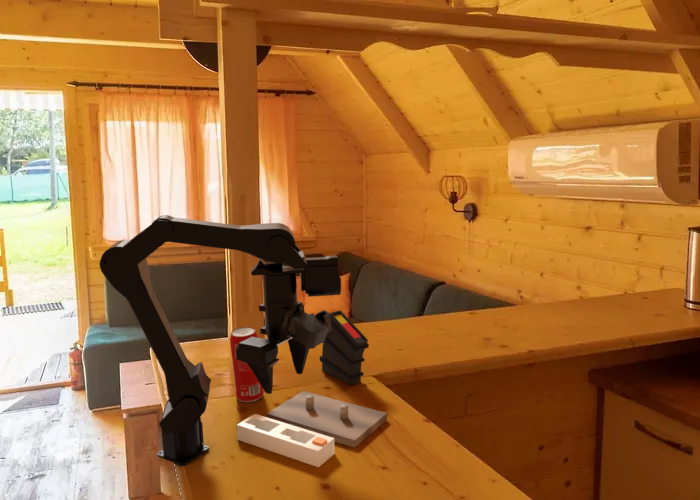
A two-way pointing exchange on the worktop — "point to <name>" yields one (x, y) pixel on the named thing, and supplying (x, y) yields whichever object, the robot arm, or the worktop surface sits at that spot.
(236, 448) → the worktop surface
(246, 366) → the beverage can
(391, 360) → the worktop surface
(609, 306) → the worktop surface
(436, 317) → the worktop surface
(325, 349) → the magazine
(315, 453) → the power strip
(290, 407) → the peg board
